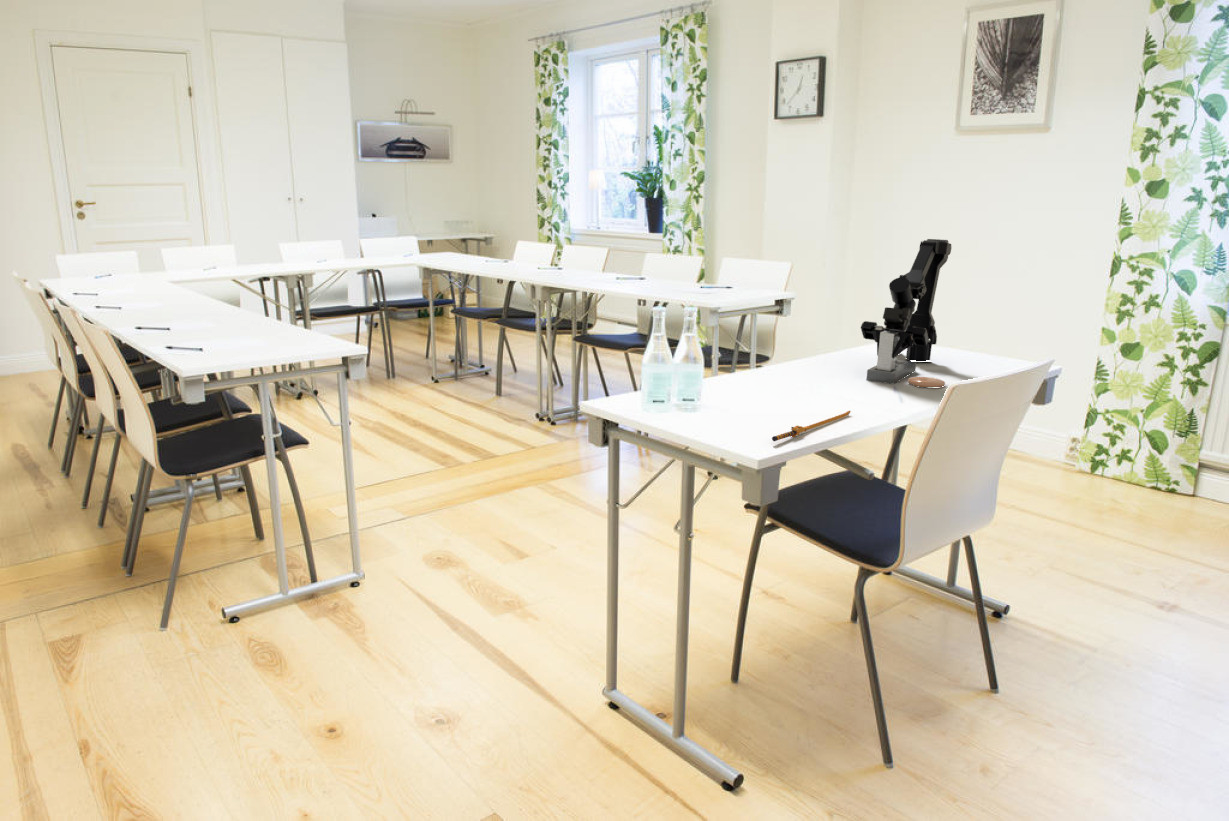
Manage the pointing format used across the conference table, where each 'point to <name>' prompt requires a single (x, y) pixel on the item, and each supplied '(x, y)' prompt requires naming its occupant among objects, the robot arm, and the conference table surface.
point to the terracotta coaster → (926, 382)
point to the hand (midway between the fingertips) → (885, 356)
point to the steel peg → (887, 351)
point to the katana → (808, 427)
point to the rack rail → (892, 377)
